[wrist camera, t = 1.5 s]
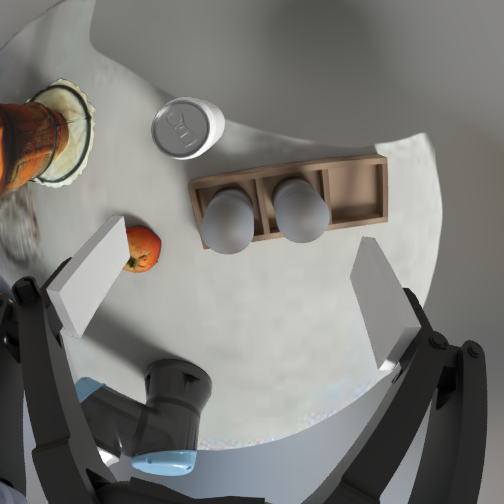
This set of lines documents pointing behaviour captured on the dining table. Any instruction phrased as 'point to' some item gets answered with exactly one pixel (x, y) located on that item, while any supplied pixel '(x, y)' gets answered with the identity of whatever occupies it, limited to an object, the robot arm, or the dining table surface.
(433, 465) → the robot arm
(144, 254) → the tomato
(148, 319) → the dining table surface
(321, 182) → the socket rail
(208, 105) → the can
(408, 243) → the dining table surface
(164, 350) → the dining table surface
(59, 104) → the decorative vase
